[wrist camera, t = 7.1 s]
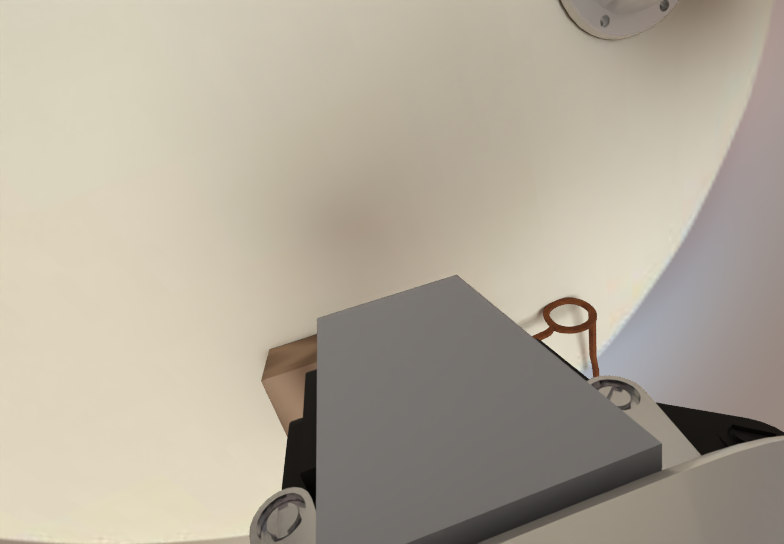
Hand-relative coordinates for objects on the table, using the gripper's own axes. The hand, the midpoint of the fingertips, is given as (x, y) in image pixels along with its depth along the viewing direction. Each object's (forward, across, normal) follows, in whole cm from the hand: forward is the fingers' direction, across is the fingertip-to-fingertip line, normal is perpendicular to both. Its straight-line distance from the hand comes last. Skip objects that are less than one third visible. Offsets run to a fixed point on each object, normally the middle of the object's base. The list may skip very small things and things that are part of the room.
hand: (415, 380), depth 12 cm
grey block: (+2, 0, 0) cm, 2 cm away
